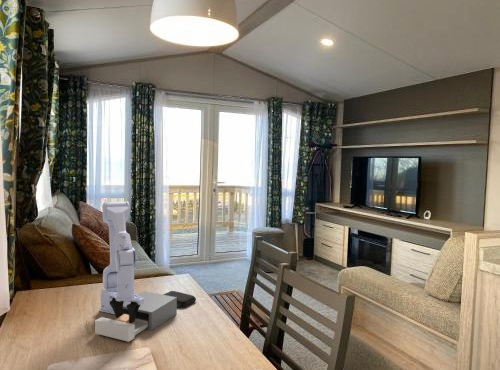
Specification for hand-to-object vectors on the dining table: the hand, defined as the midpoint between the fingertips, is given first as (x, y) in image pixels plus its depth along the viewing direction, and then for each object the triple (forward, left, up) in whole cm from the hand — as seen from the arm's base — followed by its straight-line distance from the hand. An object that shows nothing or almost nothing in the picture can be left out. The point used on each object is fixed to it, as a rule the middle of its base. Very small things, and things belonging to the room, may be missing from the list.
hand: (125, 320), depth 134 cm
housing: (0, +12, -4) cm, 13 cm away
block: (0, 0, -3) cm, 3 cm away
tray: (0, 0, -3) cm, 3 cm away
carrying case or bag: (+1, +31, -4) cm, 31 cm away
